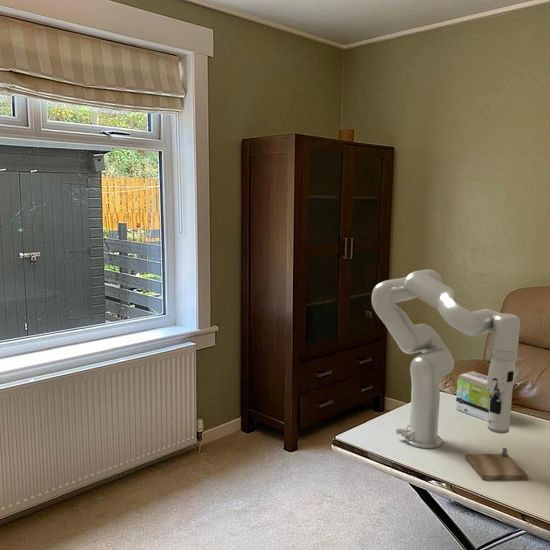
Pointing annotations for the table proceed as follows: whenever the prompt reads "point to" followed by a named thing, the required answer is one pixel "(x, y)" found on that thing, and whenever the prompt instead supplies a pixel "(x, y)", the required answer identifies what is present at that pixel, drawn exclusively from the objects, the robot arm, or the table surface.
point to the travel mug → (502, 409)
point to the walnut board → (496, 466)
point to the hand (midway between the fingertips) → (499, 409)
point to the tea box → (473, 395)
